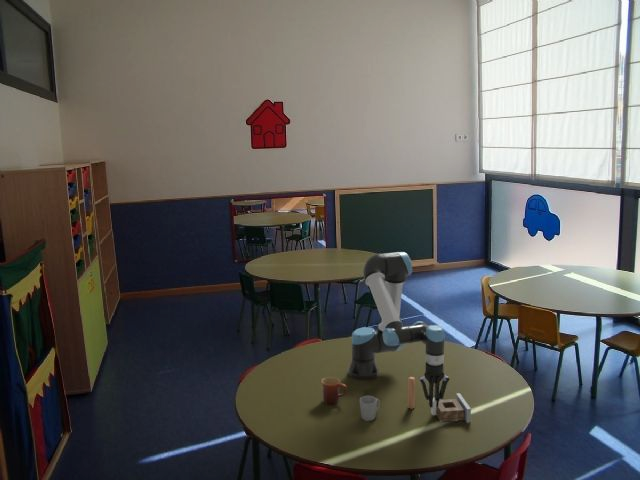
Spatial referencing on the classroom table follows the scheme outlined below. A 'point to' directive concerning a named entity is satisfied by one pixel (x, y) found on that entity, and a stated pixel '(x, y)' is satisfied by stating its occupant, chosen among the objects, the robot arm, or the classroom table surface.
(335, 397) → the mug
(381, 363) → the classroom table surface
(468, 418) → the base
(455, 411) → the block
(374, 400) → the cup
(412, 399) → the dowel
